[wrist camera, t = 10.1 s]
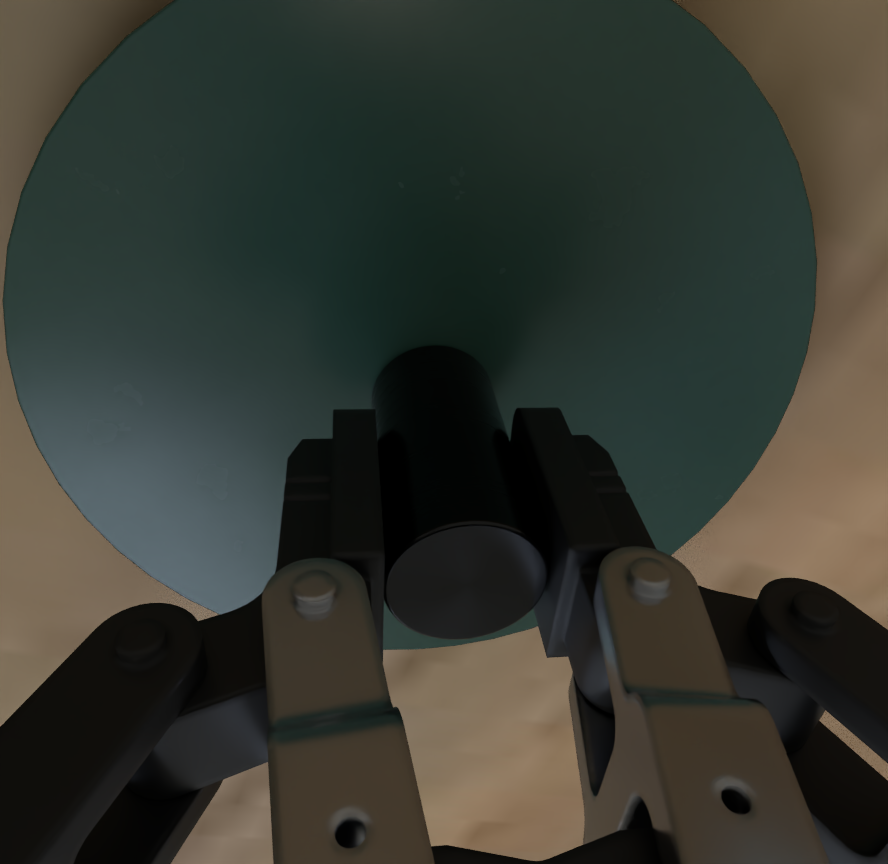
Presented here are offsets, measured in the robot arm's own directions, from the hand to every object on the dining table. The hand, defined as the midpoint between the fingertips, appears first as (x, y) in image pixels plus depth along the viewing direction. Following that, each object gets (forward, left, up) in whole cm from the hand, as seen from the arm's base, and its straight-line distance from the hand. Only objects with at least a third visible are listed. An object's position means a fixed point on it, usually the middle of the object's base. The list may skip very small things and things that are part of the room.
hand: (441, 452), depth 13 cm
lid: (0, 0, -2) cm, 2 cm away
